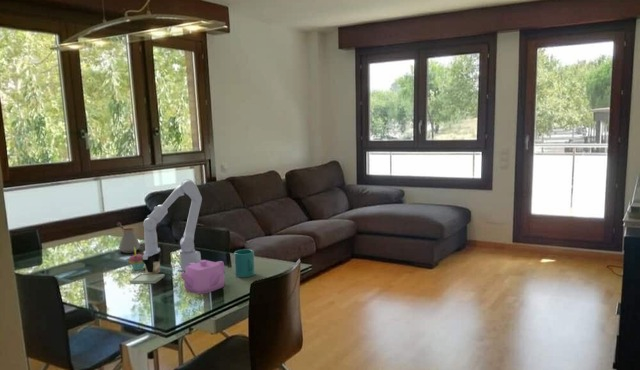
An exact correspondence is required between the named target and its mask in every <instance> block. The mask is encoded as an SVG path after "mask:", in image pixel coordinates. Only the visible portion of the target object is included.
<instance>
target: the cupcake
mask: <svg viewBox="0 0 640 370" xmlns="http://www.w3.org/2000/svg"><path fill="white" fill-rule="evenodd" d="M134 251H135V252H134V254H132V256H130V257H129V259H128V263H129V264H130V265H131V267H132V269H133V271H139V270H140V271H141V270H143V269H145V263H144V262H143V261H142V258H143V255H144V254H143V253H142V254H140V253H139V254H137V251H136V249H135V247H134Z"/></svg>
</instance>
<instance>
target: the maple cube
mask: <svg viewBox="0 0 640 370" xmlns="http://www.w3.org/2000/svg"><path fill="white" fill-rule="evenodd" d="M144 269H145V270H144V271H145V274H160V272H161V263H160V261H159V262H156V261H154V263H153V272H148V271H147V268H146V265H145V264H144Z"/></svg>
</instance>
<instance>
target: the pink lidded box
mask: <svg viewBox="0 0 640 370" xmlns="http://www.w3.org/2000/svg"><path fill="white" fill-rule="evenodd" d="M225 273H226V270H225V264H224V261H222V260H219V261H211V260H207V259H201V261H199V263H189V266H187V267H186V269H185V271H184V272H182V273H180V277H181V278H182V280H183V285H184V289H185V291H187V292H189V291H190V293H192V294H196V295H200V296H201V295H204V294H205V295H206V294H208V293H211V292H214V291H215V292H216V290H217V291H218V290H219V289H221V288H224V285H225V275H224V274H225Z"/></svg>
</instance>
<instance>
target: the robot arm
mask: <svg viewBox="0 0 640 370" xmlns="http://www.w3.org/2000/svg"><path fill="white" fill-rule="evenodd" d="M185 194H186V195H187V196H188V197H189V199H191V201H190V202H191V203H190V207H189V211H188V215H187V221H186V224H185V229H184V232H183V236H182V237H181V239H180V241H179V245H180V250H179V259H180V260H179V261H180V267H179V268H178V269H177V272H178V271H179V272H180V271H181V272H185V269H186V267H187V266H189V263H199V261H201V260H202V257H201V256H202V255H201V251H198V250H196V249H195V243H194V242H195V241H194V240H195V232H196V227H197V223H198V219H199V213H200V211H201V210H200V209H201V206H202V200H203V197H202V195H201V192H200V190H199V187H198V186H197V185H196V183H195V182H194V180H192V179H188V178H187V179H184V180H183V181H182V182H181V183H180V184H179V185H177V186H176V187H175V188H174V189H173V191H172V192H171V193H170V195H168V197H167V198H166V199H165V201H164V202H163V203H162V204H158V205H157V206H154V207H153V210H152V211H151V213H150V214H148V215H147V216H146V218H144V220H143V223H142V225H143V228H144V229H143V232H144V233H143V237H144V240H143V241H144V249H145V250H144V251H143V252H142V255H143V258H142V261H143V262H144V263H145V264H144V266H145V265H146V268H147V271H148V272H153V263H154V261H156V262H160V259H161V256H162V252H161V247H158V232H157V231H156V230H157V224H159V223H160V222H161V221H162V220H163V219H164V217H165V216H166V215H167V214H168V213H169V212H168V209H169V208H170V207H171V206H172V204H173V203H175V202H176V200H177V199H178V198H179V197H182V196H185Z"/></svg>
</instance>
